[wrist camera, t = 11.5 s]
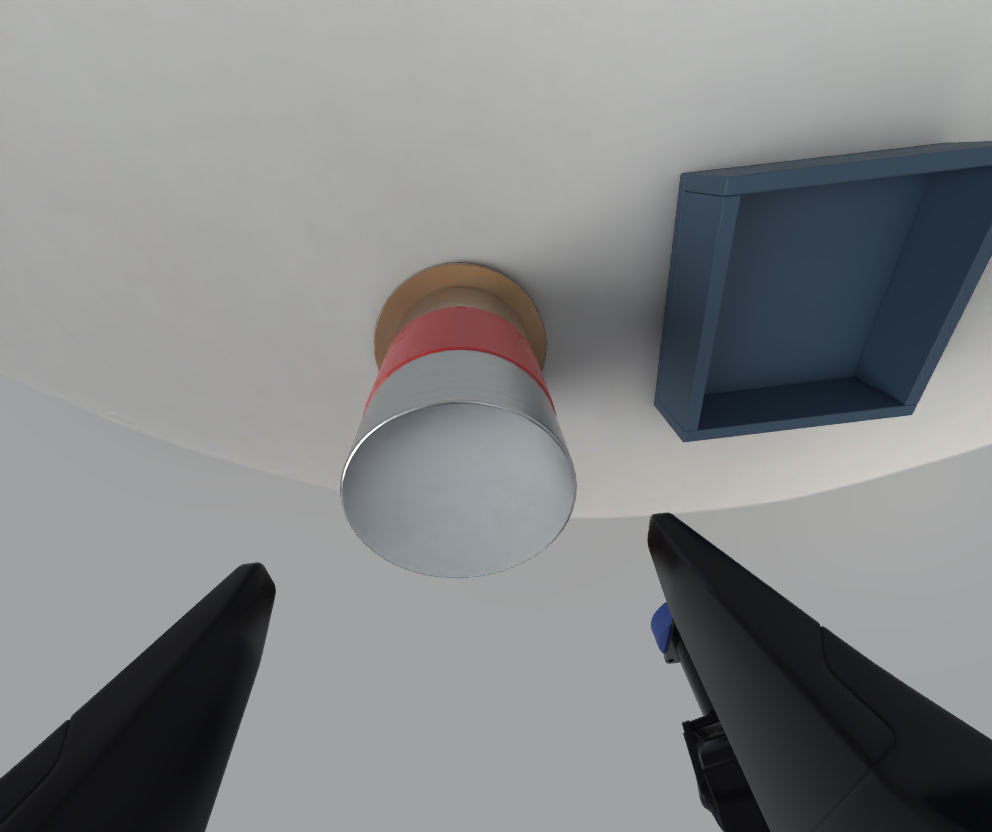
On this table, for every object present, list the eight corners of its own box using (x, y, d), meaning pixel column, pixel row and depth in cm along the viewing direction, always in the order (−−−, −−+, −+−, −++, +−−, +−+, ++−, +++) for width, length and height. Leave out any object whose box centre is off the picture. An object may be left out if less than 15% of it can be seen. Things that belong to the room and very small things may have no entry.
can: (532, 403, 21) (578, 566, 13) (408, 418, 21) (372, 591, 13) (524, 277, 18) (580, 382, 9) (378, 294, 18) (301, 415, 9)
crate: (852, 381, 22) (912, 415, 19) (653, 405, 22) (683, 442, 19) (946, 142, 17) (1050, 139, 14) (680, 173, 17) (727, 176, 14)
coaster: (547, 412, 22) (549, 416, 22) (396, 430, 22) (395, 434, 22) (541, 252, 18) (543, 253, 18) (354, 273, 18) (352, 276, 17)
